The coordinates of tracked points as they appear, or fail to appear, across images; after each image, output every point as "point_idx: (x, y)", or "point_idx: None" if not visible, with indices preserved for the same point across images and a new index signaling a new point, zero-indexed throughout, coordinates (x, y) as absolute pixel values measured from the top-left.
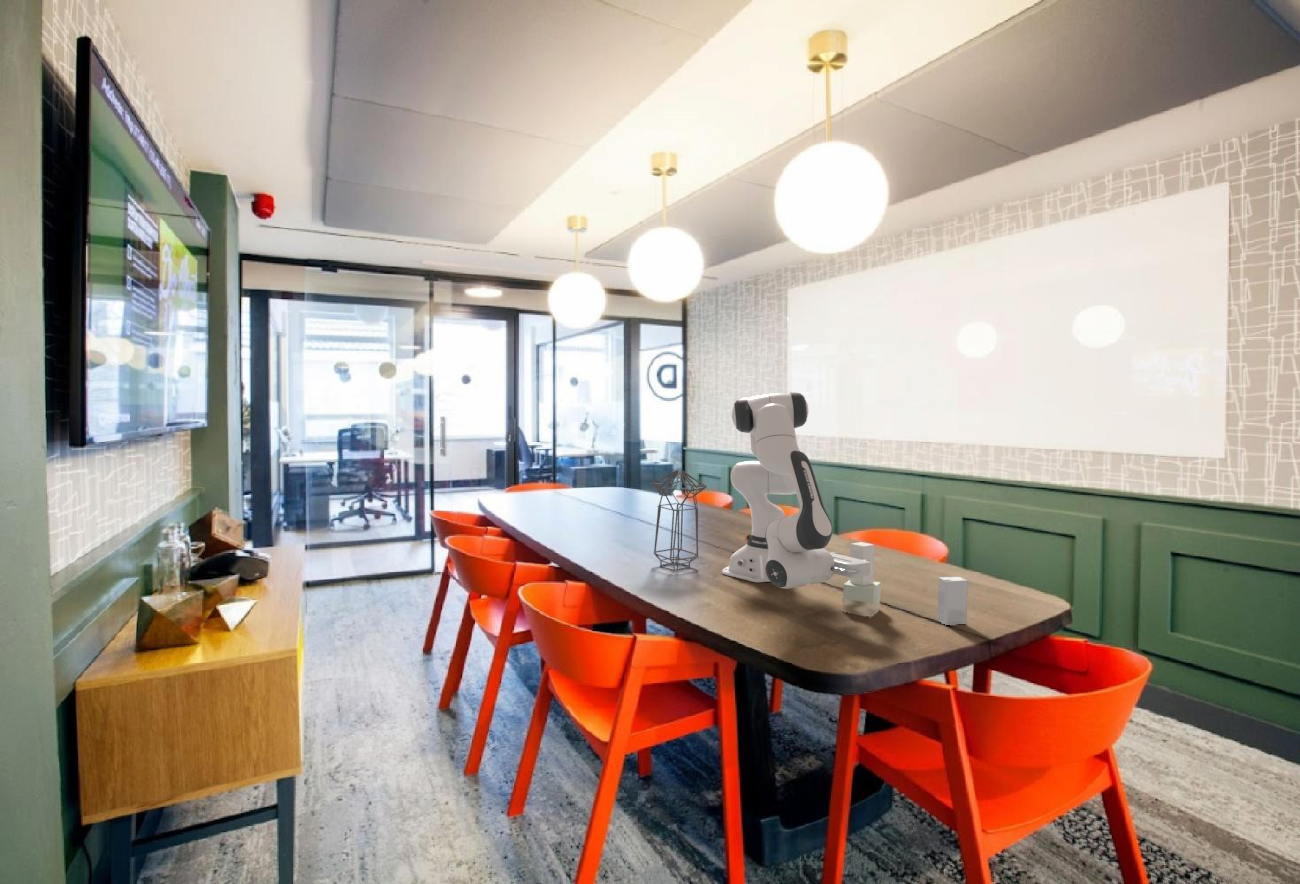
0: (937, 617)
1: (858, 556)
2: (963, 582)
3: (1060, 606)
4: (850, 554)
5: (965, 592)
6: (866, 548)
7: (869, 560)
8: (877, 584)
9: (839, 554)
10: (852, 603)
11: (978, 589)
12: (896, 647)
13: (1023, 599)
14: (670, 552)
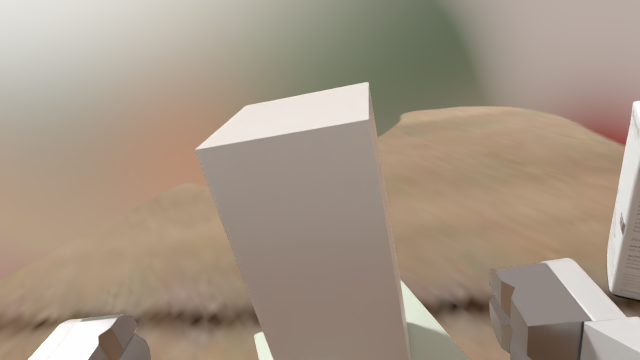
0: (615, 285)
1: (328, 236)
2: None
3: (527, 109)
4: (233, 246)
5: None
6: (372, 130)
7: (388, 215)
8: (421, 310)
9: (134, 321)
10: None
11: (395, 137)
12: None
13: (474, 122)
14: None
